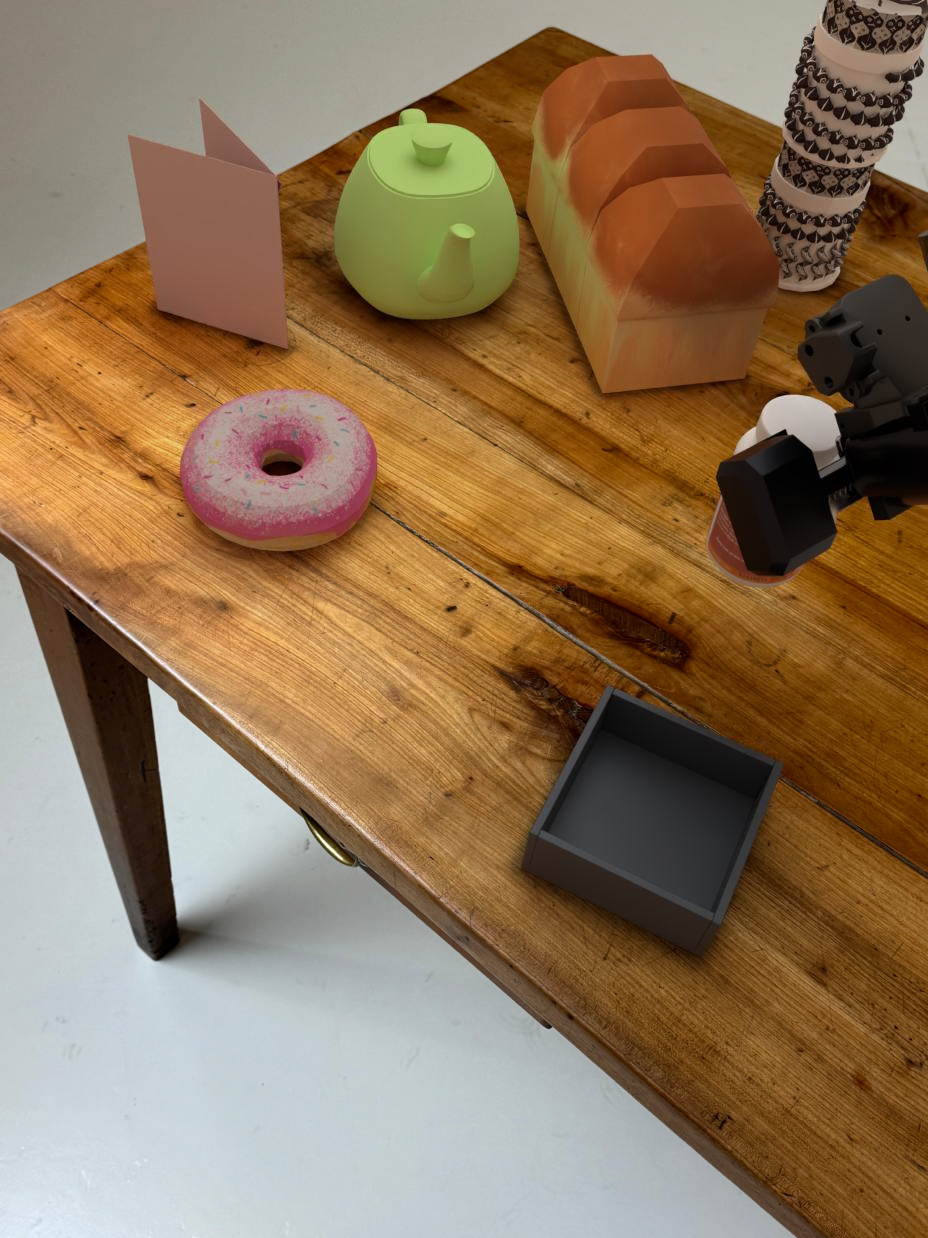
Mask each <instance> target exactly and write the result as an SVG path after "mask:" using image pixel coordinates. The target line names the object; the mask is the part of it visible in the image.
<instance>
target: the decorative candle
mask: <svg viewBox="0 0 928 1238" xmlns="http://www.w3.org/2000/svg"><path fill="white" fill-rule="evenodd" d="M818 16H819V17H818V19H817V23H816V25H815V26H813V28H812V29H811V32H810V33H807V34H806V35H805V36H804V38H803V40H802V44H803V46H802V47H801V49H800V56H799V58H798V63H797V64H796V66H795V68H794V71H795V74H796V75H797V77H796V79H795V80H794V81H793V83H792V85H791V89H792V90H791V91H790V92H789V96H788V98H789V100H788V102H787V107H785V108H784V111H783V115H784V117H785V119H784V120H783V122H782V127H781V128H782V134H781V135H782V137H783V141H782V145H781V147H780V152H779V154H778V155H777V157H776V158H775V159H774V163H773V166H772V169H771V172H770V173H768V176H767V179H765V180H764V182H763V189H764V191H763V193H762V195H761V196H760V197H759V199H758V204H759V207H758V209H757V210H756V212H755V213H754V215H755V217H756V218H757V220H758V222H759V223H760V225H761V227H762V228H763V230H764V232H765V233H766V235H767V238H768V240H769V242H770V244H771V246H772V248H773V250H774V253H775V255H776V257H777V259H778V261H779V263H780V273H779V285H778V289H782V290H788V291H794V292H799V293H804V292H815V291H821V290H822V289H823V290H824V289H825V288H827V287H829V286H831V285H833V284H834V282H835V281H836V279H837V278H838V277H839V275H840V273H841V267H842V266H843V265H844V261H843V260H842V259H843V258H846V257H847V255H848V252H849V250H850V245H849V243H851V242H853V240H854V237H853V236H852V234H854V233H855V232H856V230H857V226H858V225H859V223H860V219H861V218H860V217H861V216H862V215H863V213H864V209H865V208H866V206H867V201H866V197H867V194H868V191H869V189H870V186H871V176H872V174H873V172H874V169H875V166H876V163H878V162H880V161H881V160H882V158H883V157H884V156H885V155H886V154H887V151H888V149H889V147H888V145H889V144H891V143H892V142H893V140H894V134H895V133H894V131H895V130H894V128H893V127H892V126H893V125H894V124H896V123H897V122H900V121H902V119H903V117H904V114H905V112H906V106H904V105H905V104H906V102H909V101H910V100H911V99H912V97H913V85H912V83H910V82H912V81H915V79H916V78H919V77H921V76H922V75H923V74H924V68H925V61H924V59H922V58H921V53H922V50H923V48H924V45H925V43H926V39H925V34H926V31H927V29H928V0H826V1H825V5H824V9H823V12H821V14H820V15H818Z"/></svg>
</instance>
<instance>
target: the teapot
mask: <svg viewBox="0 0 928 1238" xmlns="http://www.w3.org/2000/svg"><path fill="white" fill-rule="evenodd" d="M334 222H335V223H334V229H333V249H334V254H335V257H336V261H337V263H338V266H339V268H340V271H341V272H342V274H343V275H344V277H345V279H346V280H347V281H348V283H349V284H350V285H351V286H352V287H353V289H354V290H355V291H356V292H357V293H358V294H359V295H360V296H361V298H362V299H364V300H365V301H366V302H367V303H369V304H370V306H372V307H374V308H375V309H376V310H378V311H380V312H382V313H384V314H387V315H389V316H392V317H396V318H401V319H409V320H440V319H449V318H456V317H462V316H467V315H471V314H474V313H477V312H480V311H482V310H484V309H485V308H487V307H488V306H490V305H491V304H493V303H494V302H495V301H496V300H498V299H499V298H500V297H501V296H502V295H503V294H504V293H505V292H507V290H508V289H509V288H510V286H511V285H512V283H513V281H514V279H515V277H516V274H517V272H518V267H519V263H520V261H519V260H520V249H521V243H520V231H519V230H520V229H519V223H518V222H519V221H518V216H517V211H516V208H515V203H514V201H513V197H512V195H511V192H510V189H509V186H508V184H507V182H506V180H505V178H504V176H503V173H502V171H501V169H500V167H499V164H498V163H497V161H496V159H495V157H494V156H493V154H492V153H491V150H490V149H489V148H488V146H487V145H486V144H485V142H484V141H482V139H481V138H479V136H477V135H476V134H475V133H473V132H472V131H471V130H468V129H466V128H464V127H461V126H459V125H455V124H450V123H437V122H436V123H435V122H428V119H427V115H426V113H425V112H424V111H423V110H421V109H418V108H408V109H404V110H402V111H401V112H400V114H399V117H398V125H395V126H392V127H388V128H386V129H383V130H381V131H379V132H378V133H377V134H375V135H374V136H372V138H371V140H370V141H369V142H368V143H367V145H366V146H365V148H364V150H363V151H362V153H361V154H360V156H359V158H358V160H357V162H356V163H355V165H354V166H353V168H352V170H351V172H350V174H349V176H348V178H347V180H346V182H345V184H344V187H343V190H342V192H341V196H340V198H339V201H338V207H337V211H336V215H335V221H334Z"/></svg>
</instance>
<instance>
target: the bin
mask: <svg viewBox="0 0 928 1238" xmlns="http://www.w3.org/2000/svg"><path fill="white" fill-rule="evenodd" d="M784 766H785V763H784V762H781V761H779V760H776V759H775V758H773V757H771V756H768V755H766V754H764V753H761V752H759V751H757V750H755V749H752V748H750V747H748V746H746V745H744V744H742V743H739V742H737V741H735V740H732V739H730V738H728V737H726V736H724V735H721V734H720V733H717V732H714V731H712V730H710V729H708V728H706V727H703V726H701V725H699V724H697V723H695V722H693V721H690V720H688V719H686V718H683V717H681V716H678V715H677V714H675V713H672V712H670V711H668V710H666V709H664V708H661V707H659V706H657V705H654V704H652V703H650V702H648V701H645V700H643V699H641V698H639V697H637V696H634V695H632V694H630V693H627V692H626V691H623V690H621V689H618V688H616V687H614V686H612V685H610V684H606V686H605V688H604V690H603V692H602V693H601V696H600V697H599V699H598V702H597V703H596V705H595V707H594V708H593V711H592V712H591V715H590V717H589V719H588V720H587V722H586V724H585V726H584V728H583V730H582V731H581V733H580V736H579V737H578V739H577V740H576V743H575V744H574V747H573V749H572V751H571V753H570V755H569V756H568V758H567V760H566V762H565V764H564V766H563V768H562V769H561V771H560V774H559V775H558V777H557V779H556V781H555V784H554V785H553V787H552V788H551V790H550V792H549V794H548V795H547V798H546V800H545V802H544V804H543V806H542V807H541V809H540V811H539V813H538V815H537V817H536V819H535V821H534V823H533V824H532V827H531V828H530V830H529V832H528V836H527V841H526V845H525V848H524V853H523V856H522V861H521V865H520V869H522V870H523V871H526V872H528V873H530V874H532V875H534V876H536V877H538V878H540V879H541V880H544V881H546V882H548V883H550V884H552V885H554V886H556V887H558V888H560V889H562V890H564V891H566V892H569V893H570V894H572V895H574V896H576V897H578V898H581V899H582V900H584V901H586V902H588V903H590V904H592V905H594V906H597V907H599V908H601V909H603V910H605V911H606V912H609V913H611V914H613V915H614V916H617V917H618V918H621V919H623V920H625V921H627V922H629V923H630V924H632V925H635V926H637V927H638V928H641V929H643V930H645V931H647V932H649V933H652V934H653V935H654V936H657V937H659V938H661V939H663V940H665V941H667V942H669V943H671V944H674V945H676V946H677V947H680V948H681V949H683V950H686V951H687V952H690V953H692V954H694V955H696V956H698V957H700V958H702V957H703V955H704V954H705V952H706V950H707V949H708V947H709V945H710V944H711V942H712V941H713V939H714V938H715V936H716V935H717V933H718V931H719V929H720V928H721V926H722V924H723V921H724V920H725V916H726V914H727V912H728V909H729V906H730V903H731V901H732V898H733V896H734V894H735V891H736V888H737V885H738V884H739V880H740V878H741V876H742V873H743V870H744V868H745V865H746V863H747V860H748V858H749V856H750V852H751V850H752V848H753V845H754V842H755V840H756V837H757V836H758V835H757V834H758V833H759V830H760V827H761V825H762V822H763V819H764V817H765V815H766V811H767V810H768V807H769V805H770V802H771V799H772V796H773V794H774V791H775V789H776V786H777V784H778V781H779V779H780V776H781V774H782V770H783V768H784Z"/></svg>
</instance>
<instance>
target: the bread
mask: <svg viewBox="0 0 928 1238" xmlns="http://www.w3.org/2000/svg"><path fill="white" fill-rule="evenodd" d="M530 132H531V134H532V136H533V139H534V140H533V148H532V155H531V156H532V157H531V165H530V173H529V182H528V189H527V196H526V204H525V205H526V206H525V213H526V214H527V217H528V219H529V221H530V224H531V226H532V229H533V231H534V233H535V236H536V239H537V241H538V243H539V245H540V247H541V250H542V252H543V255H544V258H545V260H546V263H547V264H548V267H549V269H550V272H551V274H552V275H553V278H554V279H553V280H554V281H555V285H556V286H557V288H558V290H559V293H560V295H561V298H562V299H563V302H564V305H565V307H566V309H567V312H568V314H569V317H570V320H571V322H572V324H573V326H574V329H575V332H576V333H577V336H578V338H579V341H580V343H581V346H582V348H583V351H584V353H585V355H586V357H587V360H588V362H589V364H590V367H591V369H592V372H593V374H594V376H595V379H596V381H597V383H598V386H599V389H600V391H601V393H602V394H609V393H619V392H620V393H621V392H629V391H639V390H648V389H655V388H656V389H657V388H667V387H677V386H686V385H697V384H705V383H714V382H715V383H716V382H722V381H723V382H725V381H733V380H743V379H746V376H747V372H748V370H749V367H750V364H751V361H752V358H753V355H754V353H755V349H756V346H757V344H758V343H757V342H758V340H759V337H760V334H761V331H762V328H763V325H764V322H765V320H766V317H767V314H768V310H769V309H771V308H772V307H774V306H777V305H778V297H779V296H778V294H779V287H778V285H779V273H780V263H779V261H778V259H777V257H776V255H775V253H774V250H773V248H772V246H771V244H770V242H769V240H768V238H767V235H766V233H765V232H764V230H763V228H762V227H761V225H760V223H759V222H758V220H757V218H756V217H755V213H754V212H753V210H752V209H751V207H750V205H749V204H748V202H747V200H746V198H745V196H744V195H743V194H742V192H741V190H740V189H739V187H738V186H737V183H736V182H735V181H734V179H732V176H731V174H730V171H729V169H728V167H727V166H726V164H725V162H724V161H723V159H722V158H721V155H720V153H718V151H717V149H716V147H715V146H714V144H713V143H712V141H711V139H710V138H709V136H708V134H707V133H706V131H705V130H704V128H703V126H702V124H701V123H700V121H699V119H698V118H697V116H695V115H694V114H693V113H692V110H691V108H690V107H689V104H688V103H687V101H686V100H685V98H684V97H683V95H682V93H681V92H680V90H679V88H678V87H677V85H676V83H675V81H674V80H673V79H672V77H671V75H670V74H669V72H668V70H667V69H666V67H665V65H664V63H663V62H661V61H660V60H659V59H658V58H657V57H656V56H655V55H653V54H651V53H650V54H630V55H629V54H628V55H611V56H610V55H609V56H594V57H591V58H590V59H587V60H584V61H582V62H579V63H577V64H575V65H572V66H570V67H567V68H566V69H565V70H564V71H563V72H562V73H561V74H560V75H559V76H557V78H555V79H554V80H553V82H551V83H550V84H549V85H548V86H547V87H546V88H545V89H544V90H543V92H542V95H541V98H540V101H539V104H538V107H537V109H536V112H535V115H534V118H533V121H532V124H531V126H530Z"/></svg>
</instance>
